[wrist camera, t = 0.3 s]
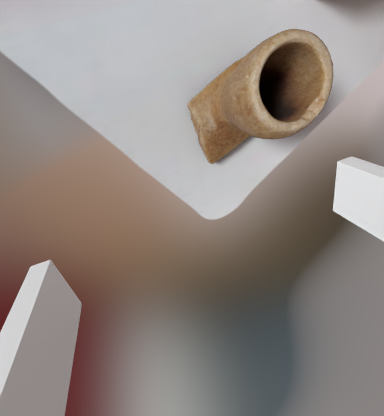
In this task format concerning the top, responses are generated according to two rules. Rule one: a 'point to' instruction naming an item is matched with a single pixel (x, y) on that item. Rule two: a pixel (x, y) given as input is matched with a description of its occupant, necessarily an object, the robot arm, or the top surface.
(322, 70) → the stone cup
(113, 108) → the top surface
